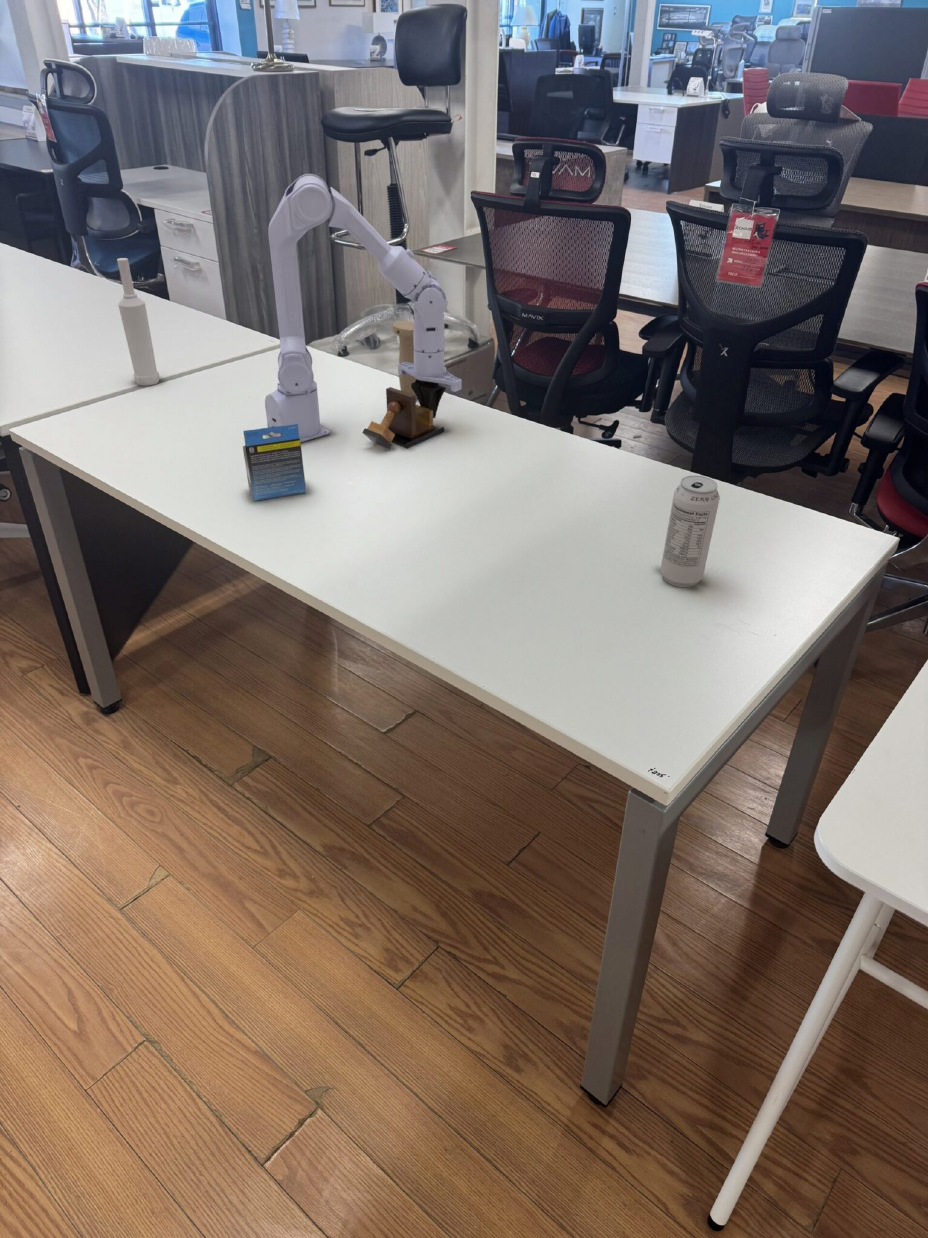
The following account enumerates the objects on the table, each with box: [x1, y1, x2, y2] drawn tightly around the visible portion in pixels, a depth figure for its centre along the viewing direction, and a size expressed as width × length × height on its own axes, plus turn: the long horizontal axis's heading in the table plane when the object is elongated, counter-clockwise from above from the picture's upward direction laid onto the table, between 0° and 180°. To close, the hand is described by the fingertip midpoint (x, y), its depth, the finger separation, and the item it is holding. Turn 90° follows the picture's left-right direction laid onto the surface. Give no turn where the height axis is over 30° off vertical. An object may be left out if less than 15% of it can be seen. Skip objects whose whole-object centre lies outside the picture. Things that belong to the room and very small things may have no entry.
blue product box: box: [242, 424, 307, 502], centre depth 138 cm, size 9×4×12 cm, turn 111°
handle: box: [391, 320, 418, 399], centre depth 173 cm, size 5×6×15 cm
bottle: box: [116, 257, 160, 387], centre depth 175 cm, size 5×5×25 cm
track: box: [391, 425, 445, 449], centre depth 161 cm, size 10×8×1 cm
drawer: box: [385, 386, 436, 439], centre depth 159 cm, size 7×6×8 cm
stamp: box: [362, 401, 401, 450], centre depth 155 cm, size 8×4×7 cm, turn 140°
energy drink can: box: [660, 475, 721, 588], centre depth 117 cm, size 6×6×15 cm
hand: (429, 418), depth 164 cm, fingers closed, pressing on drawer
